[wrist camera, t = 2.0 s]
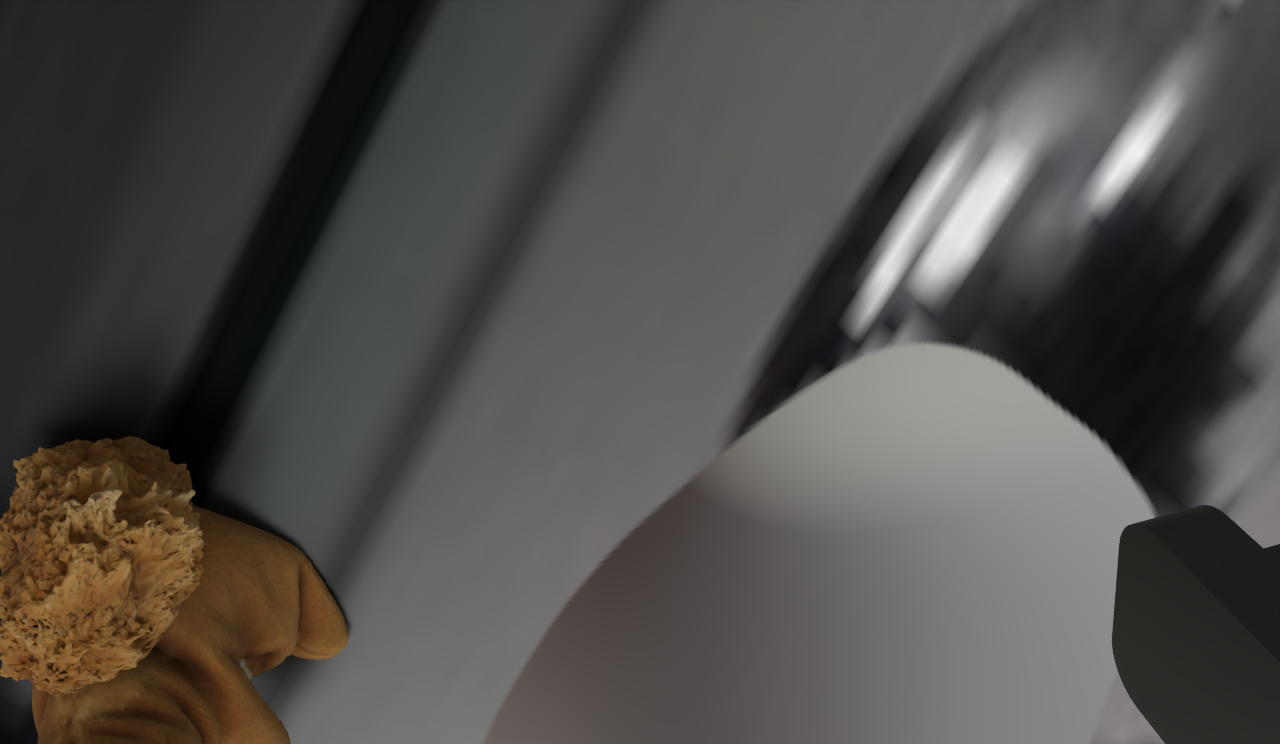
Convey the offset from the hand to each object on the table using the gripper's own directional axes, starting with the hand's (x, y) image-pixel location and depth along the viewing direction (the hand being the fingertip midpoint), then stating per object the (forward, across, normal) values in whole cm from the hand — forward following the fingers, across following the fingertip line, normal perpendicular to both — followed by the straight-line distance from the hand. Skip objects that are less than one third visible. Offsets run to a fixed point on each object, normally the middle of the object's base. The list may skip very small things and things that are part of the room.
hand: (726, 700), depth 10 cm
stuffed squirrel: (+27, -15, -15) cm, 35 cm away
